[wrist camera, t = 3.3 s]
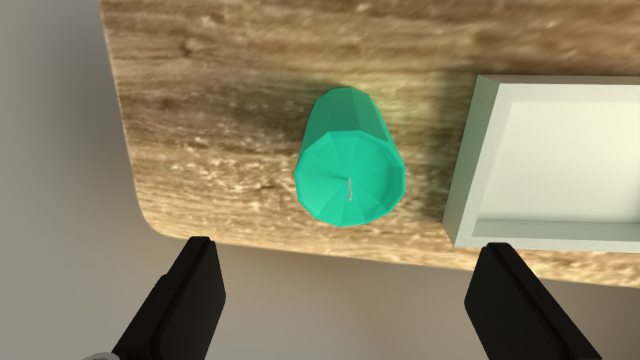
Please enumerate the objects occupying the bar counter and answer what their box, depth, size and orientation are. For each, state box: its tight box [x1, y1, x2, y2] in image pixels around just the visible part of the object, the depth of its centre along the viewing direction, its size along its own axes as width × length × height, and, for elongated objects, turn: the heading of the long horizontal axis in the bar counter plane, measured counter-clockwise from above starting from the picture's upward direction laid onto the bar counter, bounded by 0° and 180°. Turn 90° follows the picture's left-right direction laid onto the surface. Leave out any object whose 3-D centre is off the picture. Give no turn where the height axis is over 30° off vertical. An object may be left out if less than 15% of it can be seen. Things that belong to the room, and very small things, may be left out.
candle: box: [294, 87, 405, 227], centre depth 20 cm, size 6×6×12 cm
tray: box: [442, 75, 640, 253], centre depth 24 cm, size 14×20×4 cm
